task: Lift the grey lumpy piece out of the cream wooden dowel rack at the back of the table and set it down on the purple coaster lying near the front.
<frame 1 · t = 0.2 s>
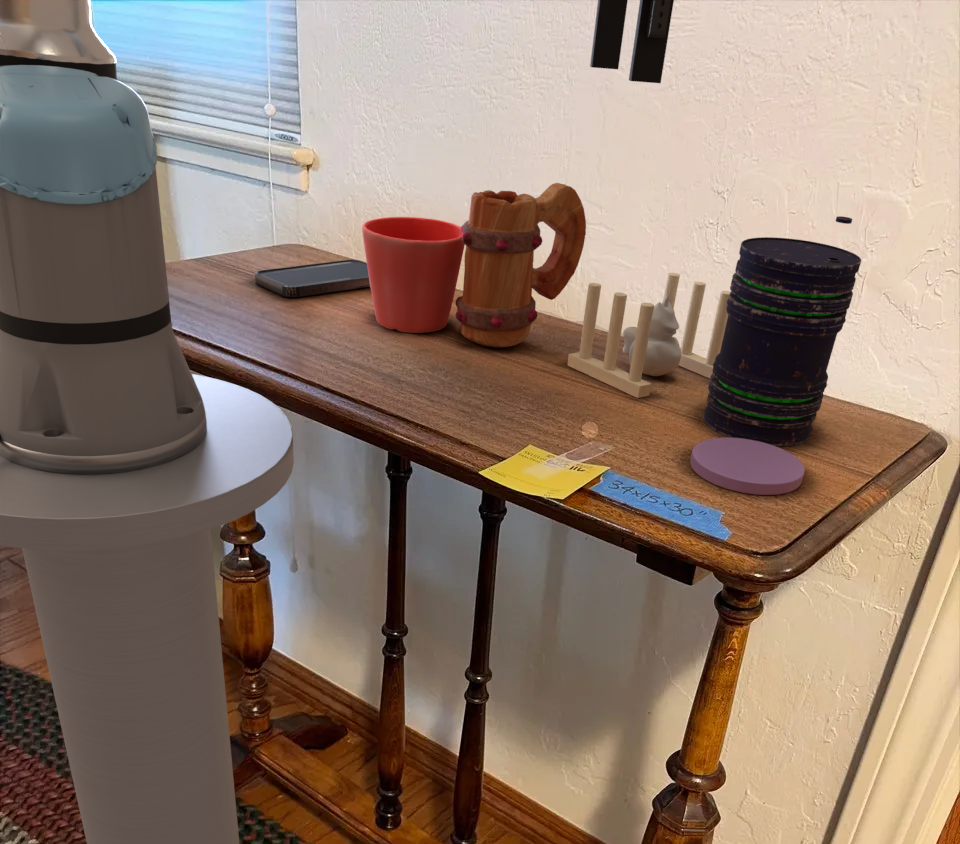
hand: (623, 75, 89), 25 cm above the table, tool pointing down, fingers open, 13 cm apart
dark blue barrel: (755, 426, 87), on the table
rack: (646, 372, 96), on the table
purple coaster: (745, 470, 78), on the table
mug: (513, 340, 102), on the table
phone: (324, 284, 114), on the table
flower pot: (411, 324, 104), on the table
grey lumpy piece: (646, 374, 96), on the table
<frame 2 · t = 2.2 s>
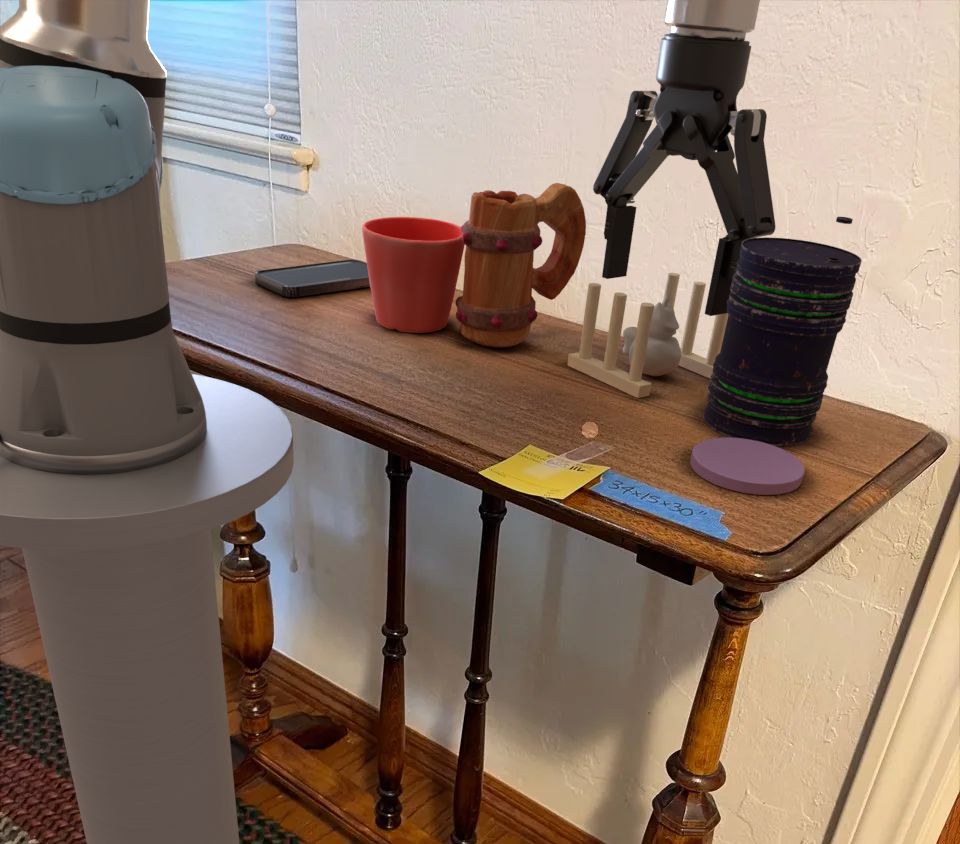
hand: (663, 294, 92), 8 cm above the table, tool pointing down, fingers open, 13 cm apart
dark blue barrel: (755, 426, 87), on the table, touching gripper, hand
everything else where it was.
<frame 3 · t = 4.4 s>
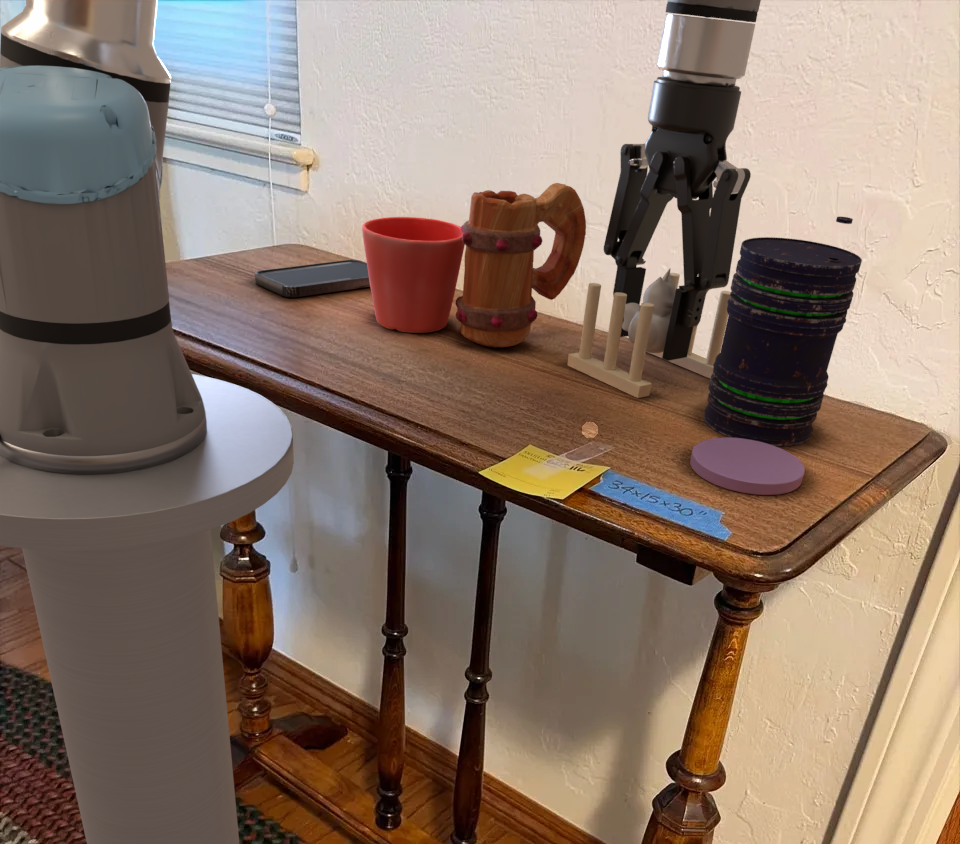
hand: (647, 345, 95), 3 cm above the table, tool pointing down, fingers closed on grey lumpy piece, 7 cm apart
dark blue barrel: (756, 426, 87), on the table
grey lumpy piece: (645, 351, 95), point 2 cm above the table, touching gripper
everything else where it was.
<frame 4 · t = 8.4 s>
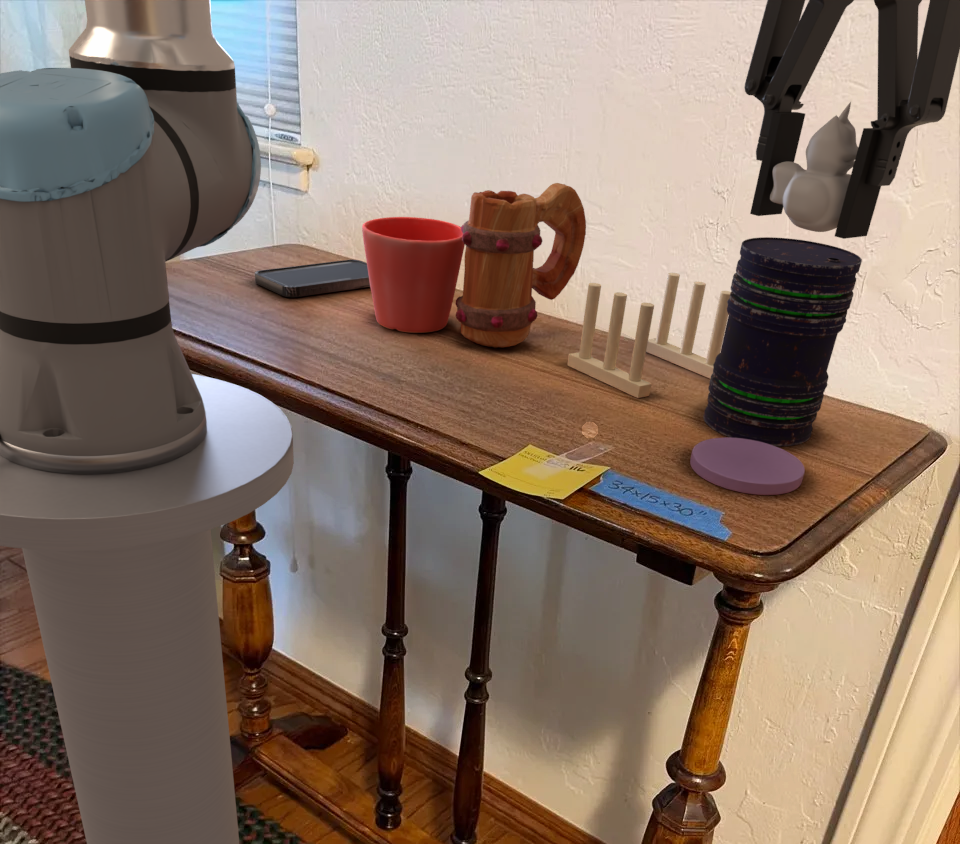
hand: (807, 224, 67), 19 cm above the table, tool pointing down, fingers closed on grey lumpy piece, 6 cm apart
grey lumpy piece: (803, 231, 68), point 18 cm above the table, touching gripper
everything else where it was.
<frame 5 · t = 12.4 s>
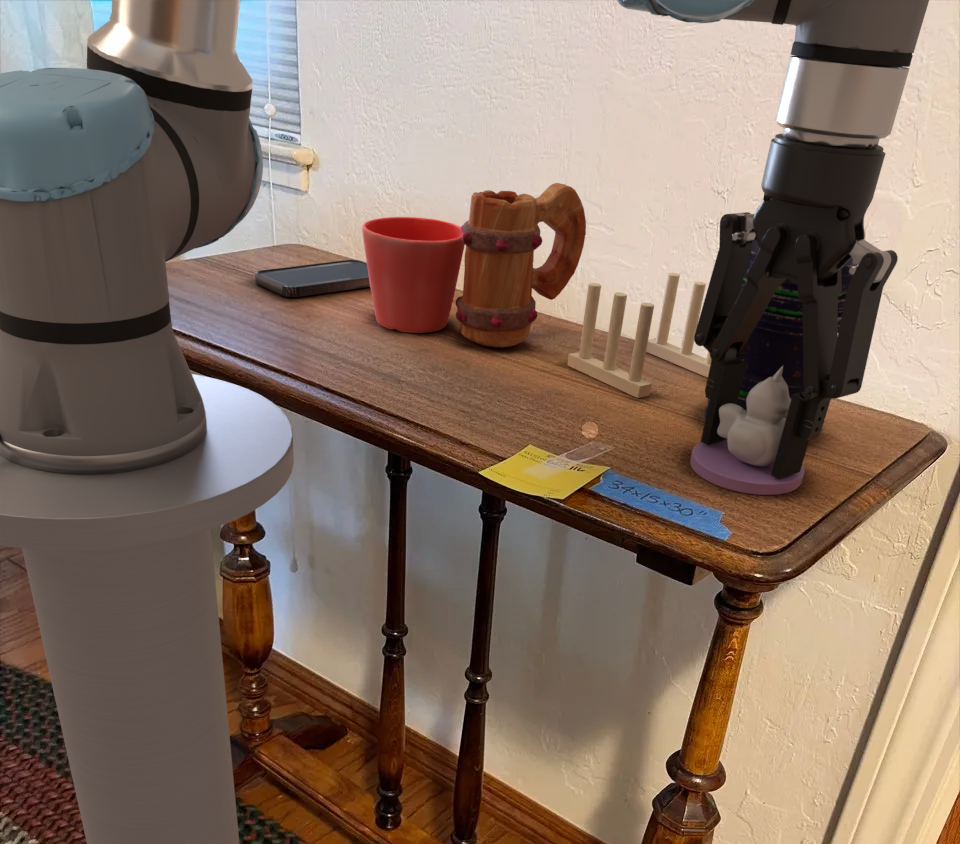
hand: (749, 456, 77), 1 cm above the table, tool pointing down, fingers closed on grey lumpy piece, 7 cm apart
grey lumpy piece: (746, 461, 77), point 1 cm above the table, touching gripper, purple coaster
everything else where it was.
when the fingers open (1 cm above the table, at t = 12.4 s): grey lumpy piece stays where it is, resting on purple coaster.
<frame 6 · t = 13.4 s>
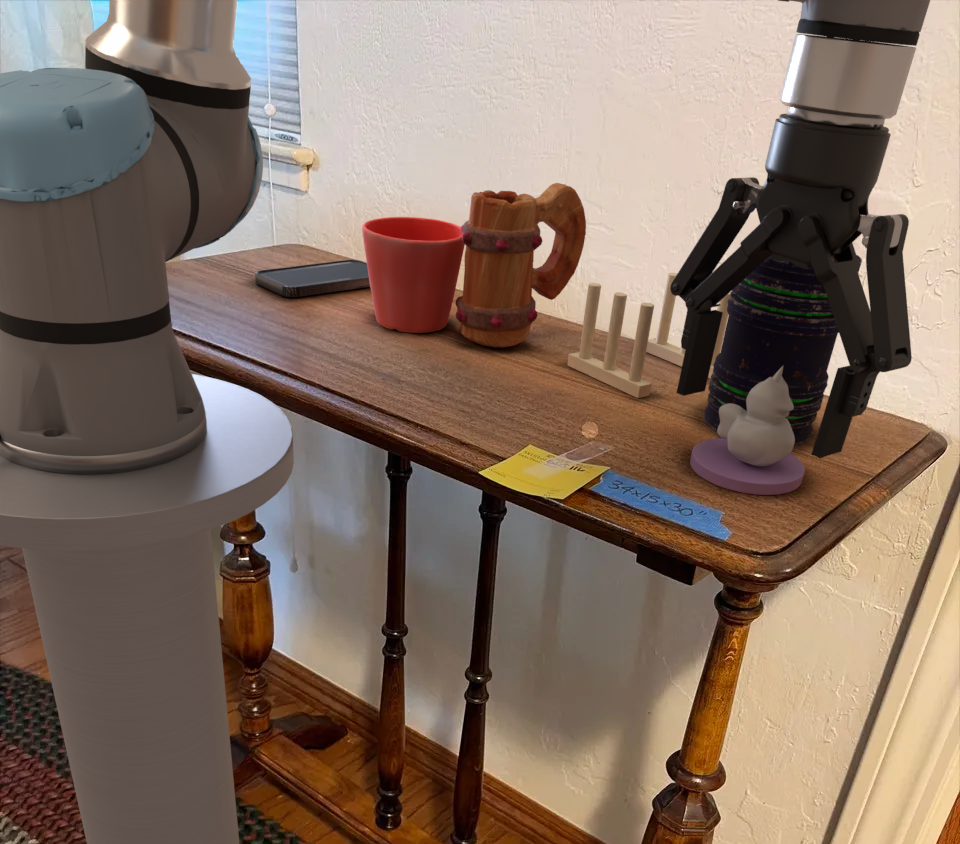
hand: (754, 421, 75), 4 cm above the table, tool pointing down, fingers open, 13 cm apart
grey lumpy piece: (746, 461, 77), point 1 cm above the table, touching purple coaster
everything else where it was.
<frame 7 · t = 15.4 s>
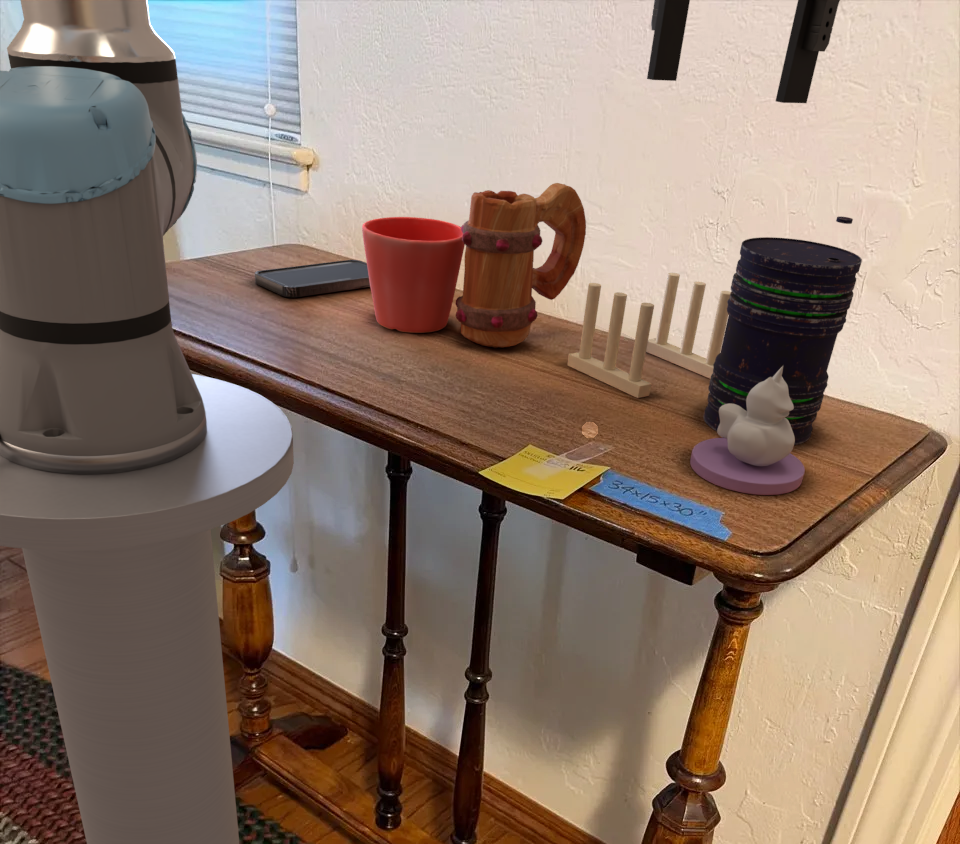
hand: (722, 91, 76), 25 cm above the table, tool pointing down, fingers open, 13 cm apart
nothing on the table moved.
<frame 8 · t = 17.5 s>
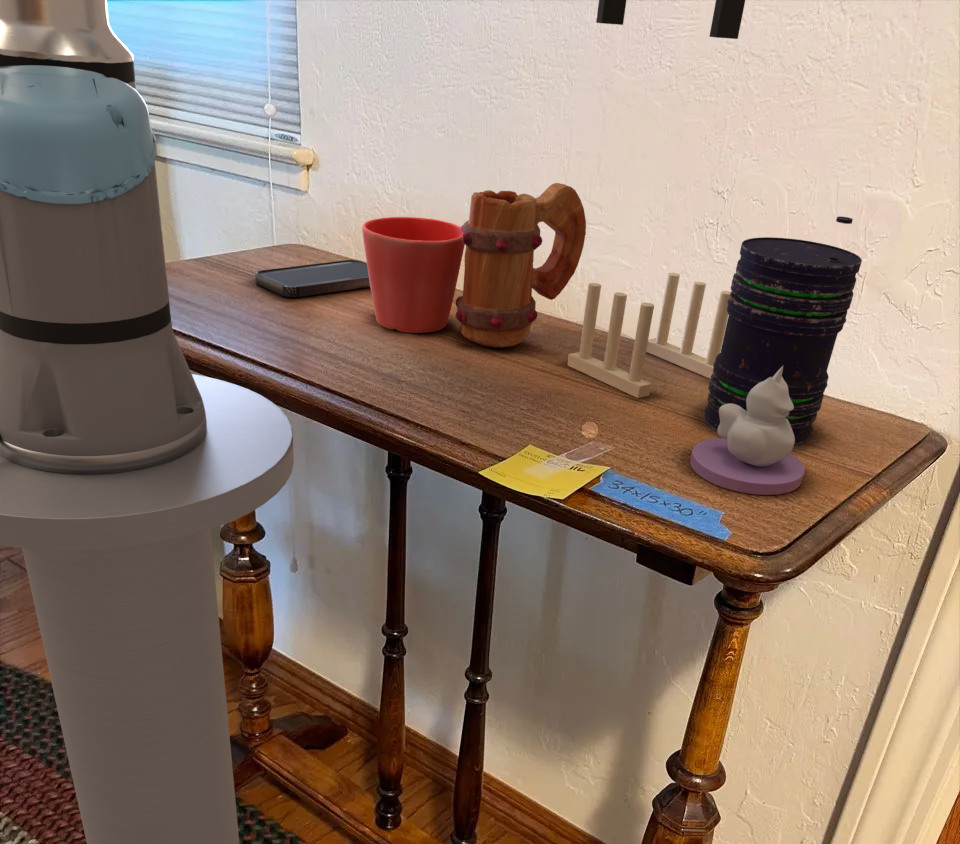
hand: (663, 31, 83), 29 cm above the table, tool pointing down, fingers open, 13 cm apart
nothing on the table moved.
at the end: grey lumpy piece 0.1 cm off-centre on the purple coaster, point 0.8 cm above the purple coaster's base; grey lumpy piece tilted 0°; the gripper is holding nothing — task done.
